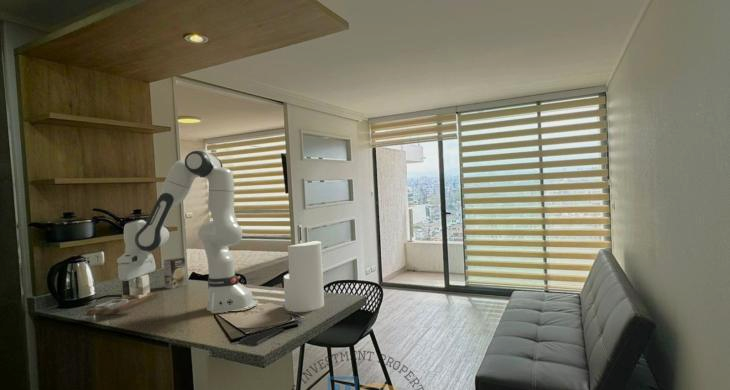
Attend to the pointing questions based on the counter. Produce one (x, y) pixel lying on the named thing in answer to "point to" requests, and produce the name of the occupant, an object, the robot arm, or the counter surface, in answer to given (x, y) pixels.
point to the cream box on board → (122, 302)
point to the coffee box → (174, 273)
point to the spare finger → (140, 286)
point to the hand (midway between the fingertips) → (139, 285)
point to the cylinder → (304, 278)
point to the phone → (261, 337)
